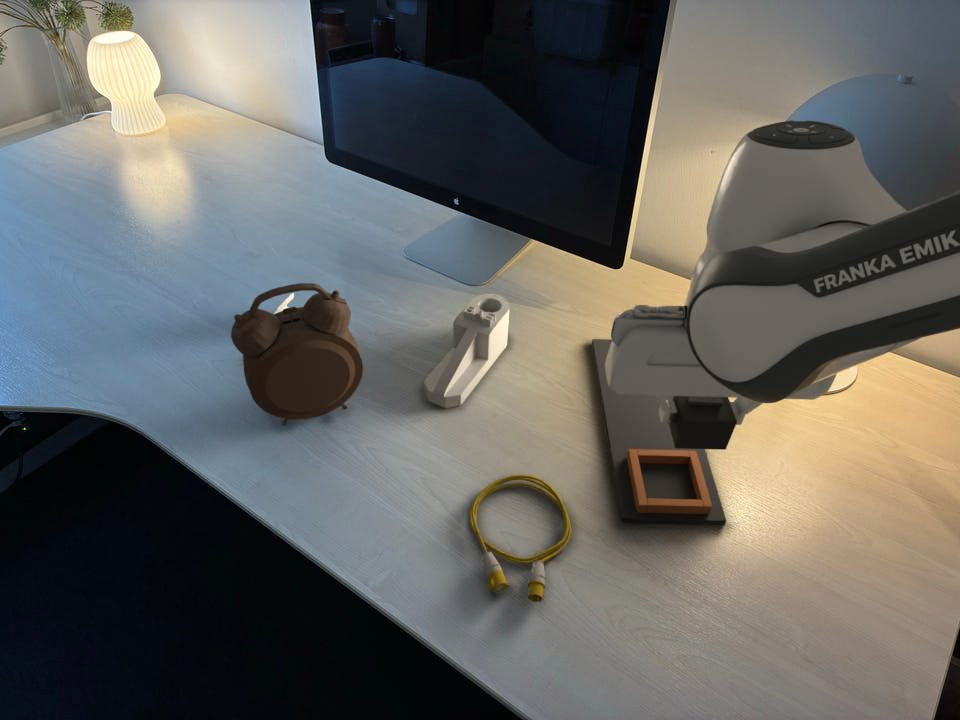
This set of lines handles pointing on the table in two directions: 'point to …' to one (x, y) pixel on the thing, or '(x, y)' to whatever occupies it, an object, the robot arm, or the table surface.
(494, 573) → the extension cord
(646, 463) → the base pad
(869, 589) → the table surface
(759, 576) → the table surface
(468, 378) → the angled bracket with hole
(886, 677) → the table surface
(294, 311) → the alarm clock
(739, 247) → the robot arm
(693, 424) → the black block
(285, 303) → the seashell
